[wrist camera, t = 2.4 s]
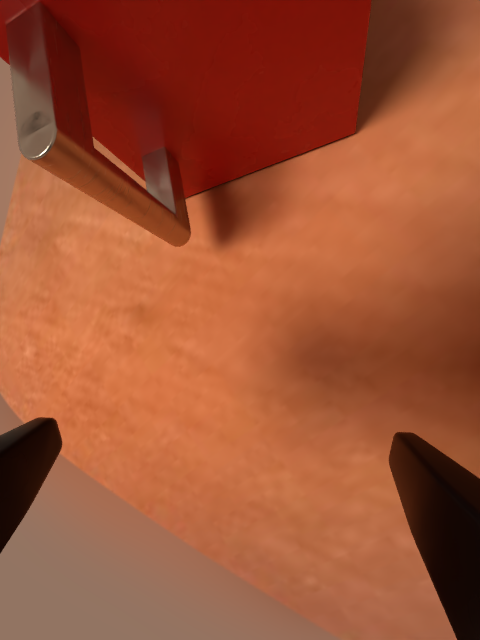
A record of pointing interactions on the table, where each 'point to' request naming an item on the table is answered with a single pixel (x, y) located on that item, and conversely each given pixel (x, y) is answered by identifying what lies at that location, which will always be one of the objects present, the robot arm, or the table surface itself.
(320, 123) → the door
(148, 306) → the table surface
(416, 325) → the table surface
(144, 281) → the table surface
